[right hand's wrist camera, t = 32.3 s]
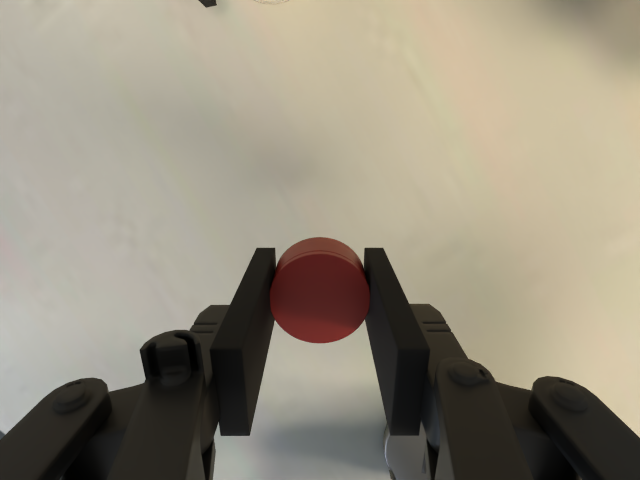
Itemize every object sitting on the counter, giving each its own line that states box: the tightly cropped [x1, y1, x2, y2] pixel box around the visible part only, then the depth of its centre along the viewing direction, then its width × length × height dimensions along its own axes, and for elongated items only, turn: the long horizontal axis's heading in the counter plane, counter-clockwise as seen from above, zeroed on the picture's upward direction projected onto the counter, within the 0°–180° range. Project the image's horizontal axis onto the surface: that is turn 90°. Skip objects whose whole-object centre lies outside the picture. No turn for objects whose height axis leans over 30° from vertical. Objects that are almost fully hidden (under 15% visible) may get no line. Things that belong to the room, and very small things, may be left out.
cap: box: [270, 237, 370, 343], centre depth 14 cm, size 4×4×2 cm
